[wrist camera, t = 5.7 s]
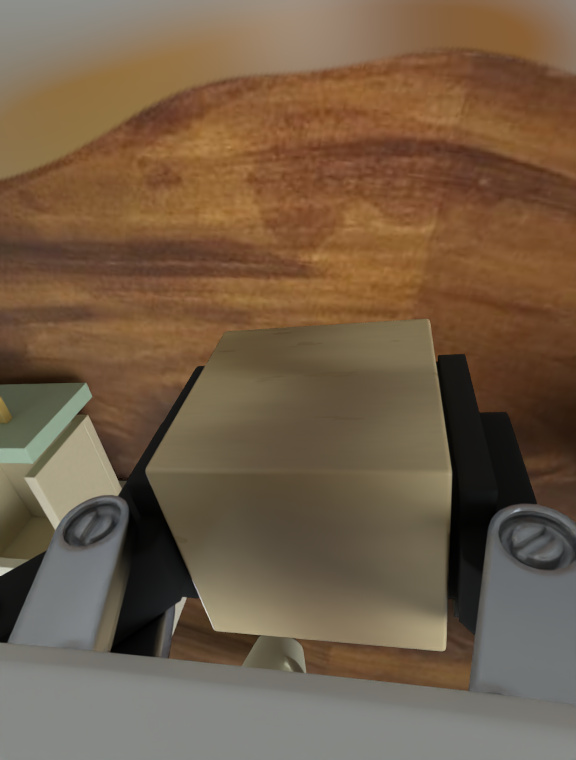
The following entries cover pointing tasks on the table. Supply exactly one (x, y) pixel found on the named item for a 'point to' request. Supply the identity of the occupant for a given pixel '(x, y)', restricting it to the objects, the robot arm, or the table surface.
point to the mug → (276, 654)
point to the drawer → (46, 463)
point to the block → (315, 485)
